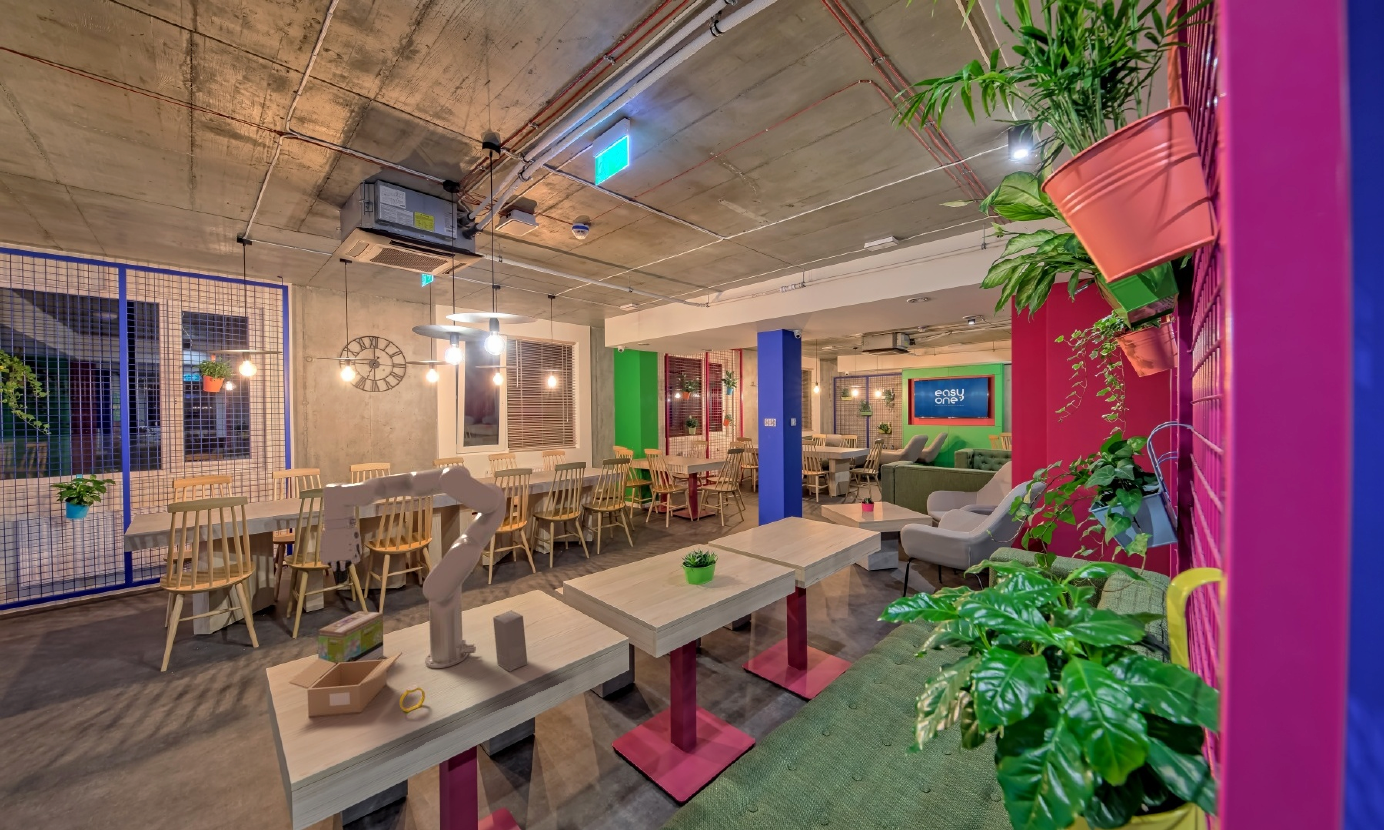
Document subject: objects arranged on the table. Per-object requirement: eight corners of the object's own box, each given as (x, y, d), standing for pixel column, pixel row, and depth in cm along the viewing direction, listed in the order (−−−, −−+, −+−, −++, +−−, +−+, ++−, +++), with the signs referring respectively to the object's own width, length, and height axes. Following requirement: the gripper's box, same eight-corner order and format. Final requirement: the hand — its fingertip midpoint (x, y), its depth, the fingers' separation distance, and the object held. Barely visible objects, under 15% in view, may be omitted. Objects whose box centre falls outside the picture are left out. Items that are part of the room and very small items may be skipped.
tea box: (345, 680, 150) (343, 632, 150) (317, 677, 152) (316, 629, 152) (385, 655, 165) (383, 611, 164) (359, 652, 167) (358, 609, 167)
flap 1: (319, 658, 144) (318, 659, 144) (289, 681, 132) (288, 682, 132) (336, 663, 145) (335, 664, 145) (308, 687, 133) (307, 688, 133)
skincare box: (527, 664, 157) (526, 615, 156) (506, 673, 151) (504, 622, 151) (515, 655, 162) (513, 608, 162) (493, 664, 157) (492, 615, 157)
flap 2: (385, 659, 146) (386, 660, 146) (362, 683, 134) (362, 684, 134) (401, 652, 147) (402, 653, 147) (379, 674, 134) (380, 676, 135)
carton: (386, 683, 147) (385, 659, 147) (359, 713, 133) (358, 685, 133) (340, 687, 146) (339, 662, 146) (308, 717, 132) (307, 689, 132)
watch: (422, 703, 138) (423, 681, 138) (425, 707, 136) (426, 685, 136) (398, 711, 133) (399, 689, 134) (401, 715, 132) (402, 693, 132)
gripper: (371, 519, 156) (373, 576, 157) (321, 521, 155) (323, 579, 155) (358, 525, 149) (360, 585, 149) (305, 527, 147) (307, 588, 147)
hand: (341, 582), depth 152 cm, fingers closed
